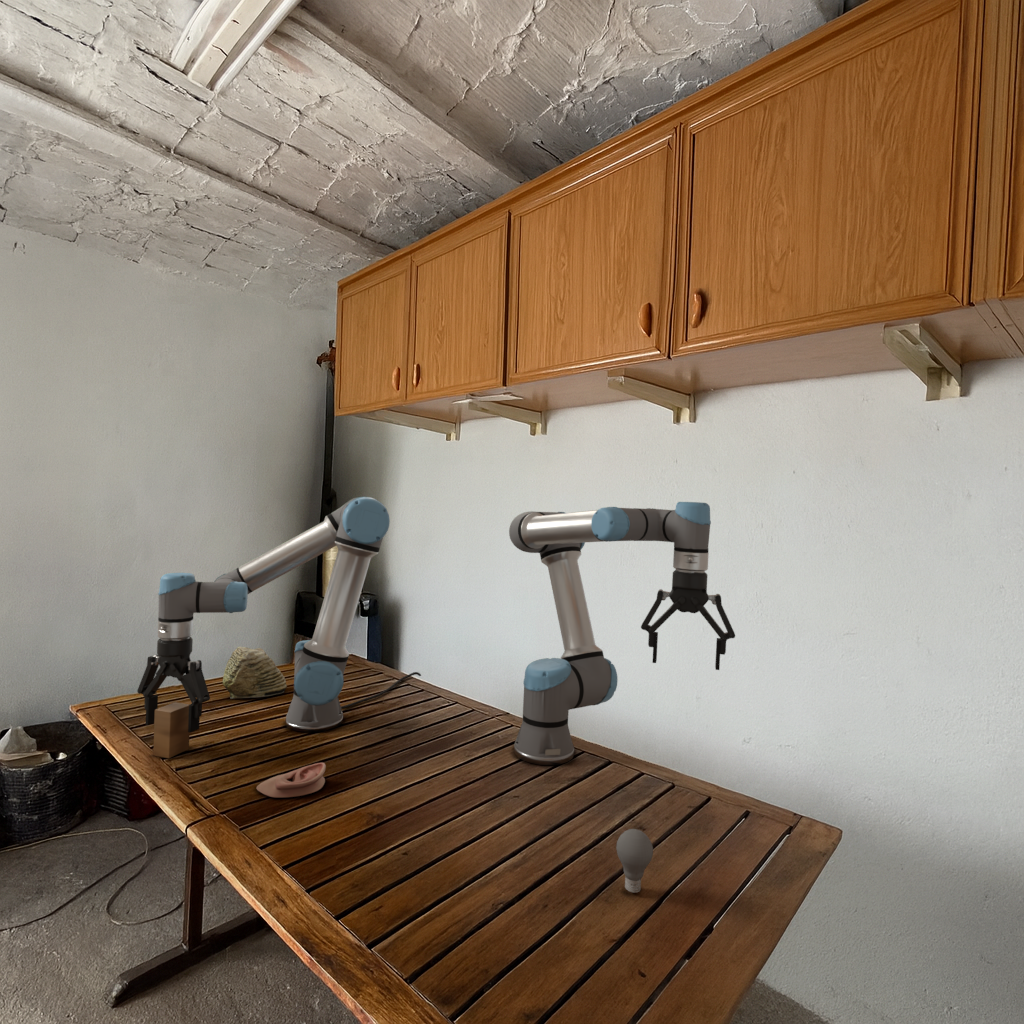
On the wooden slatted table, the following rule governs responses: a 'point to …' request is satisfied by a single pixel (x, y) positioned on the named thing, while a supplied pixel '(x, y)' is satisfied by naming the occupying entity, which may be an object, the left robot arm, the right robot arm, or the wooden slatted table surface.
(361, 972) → the wooden slatted table surface
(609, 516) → the right robot arm
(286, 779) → the anatomical model
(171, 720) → the brick
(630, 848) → the light bulb
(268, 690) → the fossil
